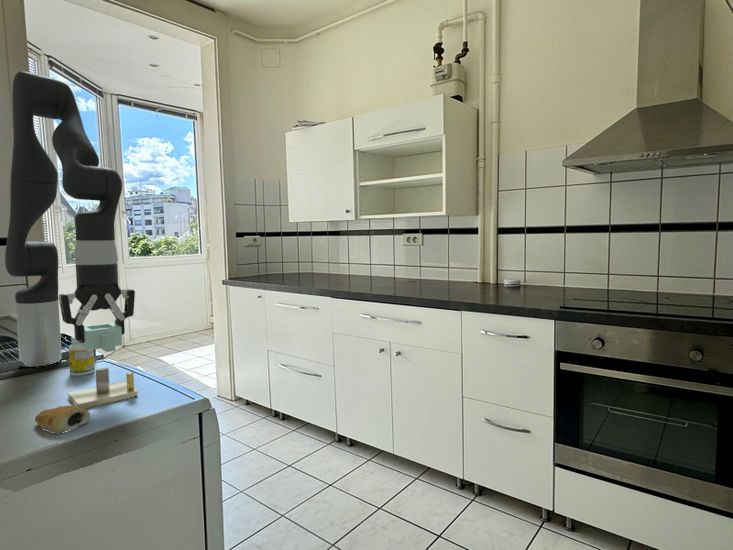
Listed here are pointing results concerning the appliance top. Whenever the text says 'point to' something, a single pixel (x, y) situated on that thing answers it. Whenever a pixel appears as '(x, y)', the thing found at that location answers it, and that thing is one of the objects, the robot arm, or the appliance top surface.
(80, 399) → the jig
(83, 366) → the supplement bottle
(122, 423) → the appliance top surface
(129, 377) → the pin
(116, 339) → the pale green hollow block
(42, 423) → the pastry
